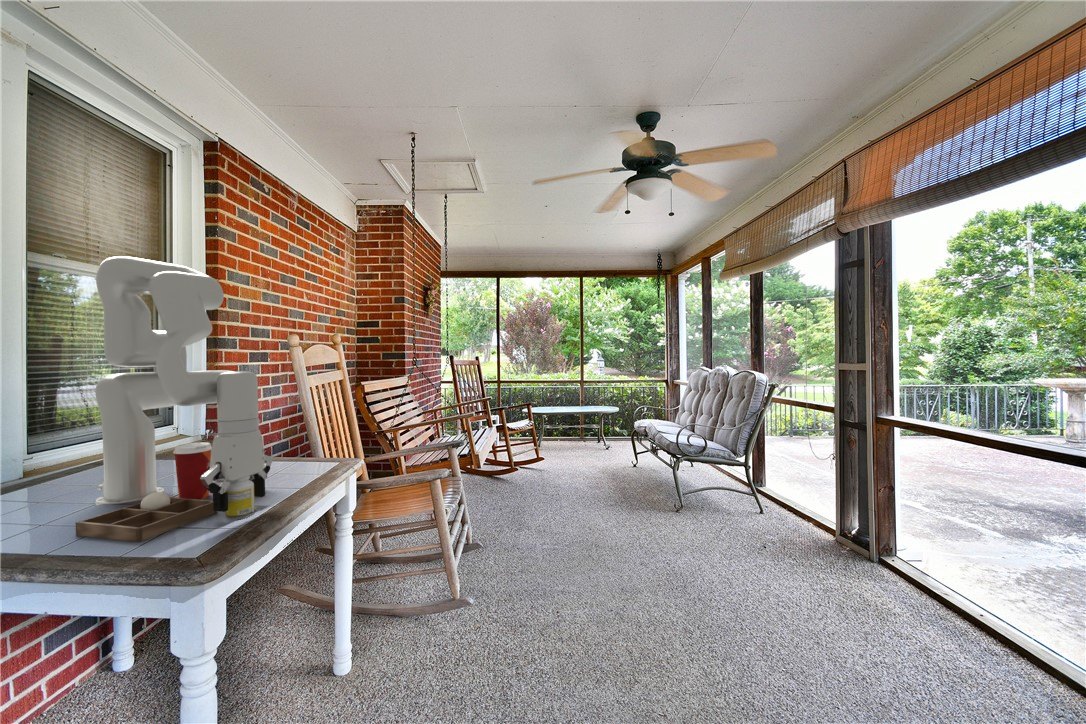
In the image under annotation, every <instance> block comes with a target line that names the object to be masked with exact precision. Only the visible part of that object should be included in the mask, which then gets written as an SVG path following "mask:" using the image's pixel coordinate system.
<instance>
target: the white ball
mask: <svg viewBox="0 0 1086 724" xmlns="http://www.w3.org/2000/svg"><path fill="white" fill-rule="evenodd" d="M170 497H171V496H169V495H168V494H167V493H165V492H153V493H150V494H148V495H147V496H146V497H144V498H143V499H142V500H141V501H140V502H141V505H140V507H141V509H142V510H154V509H157V508H160V507H163V506H166V505H169V504H170V502H171V501H170Z"/></svg>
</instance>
